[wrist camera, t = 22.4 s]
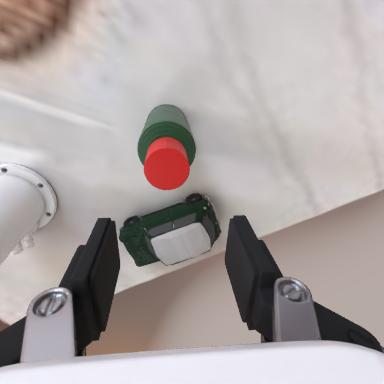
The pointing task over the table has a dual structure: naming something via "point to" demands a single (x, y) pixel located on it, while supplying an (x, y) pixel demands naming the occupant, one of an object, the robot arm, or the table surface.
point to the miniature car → (172, 232)
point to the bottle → (166, 130)
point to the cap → (166, 164)
